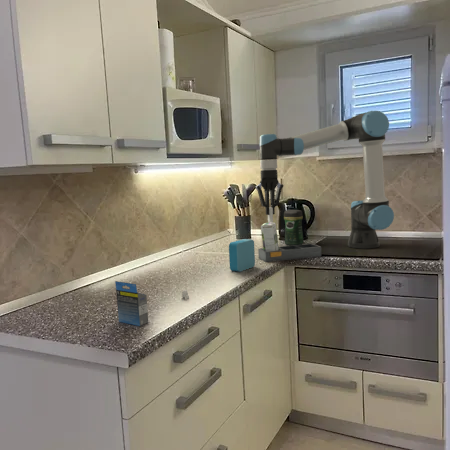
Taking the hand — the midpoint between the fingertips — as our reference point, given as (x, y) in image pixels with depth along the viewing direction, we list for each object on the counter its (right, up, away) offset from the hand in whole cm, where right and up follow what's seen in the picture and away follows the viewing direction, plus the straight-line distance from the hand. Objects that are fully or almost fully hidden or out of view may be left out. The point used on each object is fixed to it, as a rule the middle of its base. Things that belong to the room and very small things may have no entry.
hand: (270, 221), depth 207 cm
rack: (+9, -16, +5) cm, 19 cm away
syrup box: (+1, -15, +2) cm, 15 cm away
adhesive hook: (-35, -27, -54) cm, 70 cm away
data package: (-13, -20, -14) cm, 28 cm away
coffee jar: (+16, -12, +37) cm, 42 cm away
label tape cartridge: (-47, -30, -75) cm, 93 cm away
